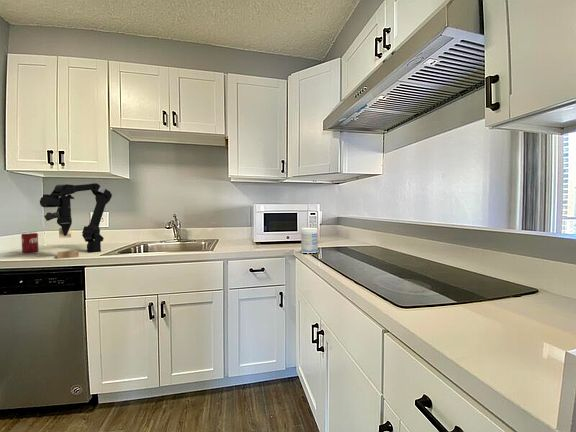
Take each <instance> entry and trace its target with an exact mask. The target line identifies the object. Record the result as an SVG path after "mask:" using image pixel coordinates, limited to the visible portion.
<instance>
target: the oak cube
mask: <svg viewBox="0 0 576 432" xmlns="http://www.w3.org/2000/svg"><path fill="white" fill-rule="evenodd" d="M71 229H72V228H71V227H70V229H69V231H68V233H67V236H64V234H63V231H62V227H59V228H58V238H59V239H64V238H65V239H67V238H72V230H71Z"/></svg>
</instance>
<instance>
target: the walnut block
mask: <svg viewBox="0 0 576 432" xmlns="http://www.w3.org/2000/svg"><path fill="white" fill-rule="evenodd" d="M79 256H80V254H79V250H78V249H77V250H64V251H57V260H60V259H69V258H79Z"/></svg>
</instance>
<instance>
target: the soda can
mask: <svg viewBox="0 0 576 432" xmlns="http://www.w3.org/2000/svg"><path fill="white" fill-rule="evenodd" d="M20 235H21V253H22V254H23V255H31V254H33V253H34V254H38V253H39V250H40V249H39V233H38V232H26V233H25V232H24V233H23V232H22V233H21V234H20ZM34 254H33V255H34Z"/></svg>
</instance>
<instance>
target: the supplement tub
mask: <svg viewBox="0 0 576 432" xmlns="http://www.w3.org/2000/svg"><path fill="white" fill-rule="evenodd" d="M318 231H319V230H318V227H317V228H316V227H302V228H301V237H300V238H301V239H300V240H301V241H300V243H301V246H300V247H301V249H300V250H301V254H303V253H316V252H317V253H318V248H319V246H318V242H319V239H318V238H319V237H318V236H319V235H318V234H319V232H318Z"/></svg>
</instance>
